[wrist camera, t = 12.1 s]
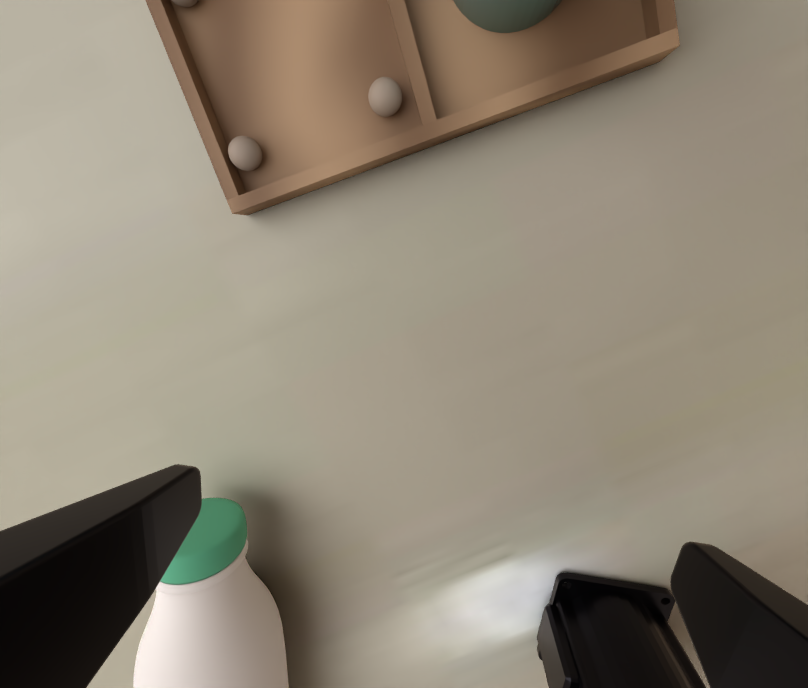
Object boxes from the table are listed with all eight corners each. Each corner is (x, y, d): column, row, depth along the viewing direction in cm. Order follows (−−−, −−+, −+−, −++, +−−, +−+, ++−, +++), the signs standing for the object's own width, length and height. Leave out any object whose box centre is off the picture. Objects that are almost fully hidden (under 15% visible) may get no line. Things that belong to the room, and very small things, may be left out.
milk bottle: (282, 695, 30) (265, 466, 25) (306, 827, 23) (288, 549, 18) (166, 752, 26) (118, 499, 21) (155, 925, 20) (80, 617, 15)
